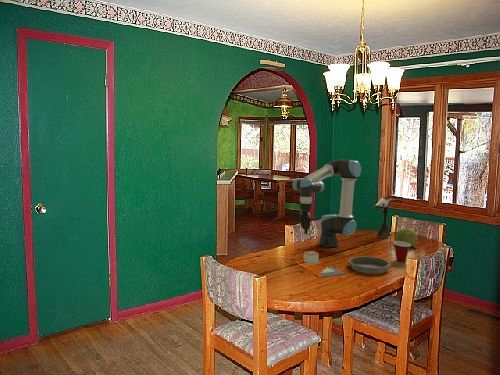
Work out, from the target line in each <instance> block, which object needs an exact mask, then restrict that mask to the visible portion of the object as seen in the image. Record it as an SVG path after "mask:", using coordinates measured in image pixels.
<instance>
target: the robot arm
mask: <svg viewBox="0 0 500 375" xmlns="http://www.w3.org/2000/svg"><path fill="white" fill-rule="evenodd" d="M361 174H362V166H361V164H360V163H359V161H358V160H353V159H335V160H331V161H330V162H327V163H326V164H324V165H323V167H321V168H320V169H318V170H315V171H314V172H311V173H310V174H308V175H306V176H304V177H302V178H300V179H299V178H298V179H294V180H293V181H292V185H291V186H292V188H293V190H294V191H300V192H299V194H300V195H299V202H300V203H299V209H301V210H300V211H299V219H300V220H299V223H300V227H301V229H302V239H304V240H306V239H308V230H309V229H311V228H310V227H311V221H312V217H313V215H312V214H311V212H310V210H311V209H312V202H313V199H312V198H313V194H314V193H315V194H316V193H321V192H324V189H325V184H324V182H323V180H324V179H326V178H329V177H333V176H340V180H342V181H341V191H340V192H341V194H340V204H339V206H340V207H339V213H338V214H325V215H321V219H320V236H319V239H318V244H319V245H321V246H324V247H323V248H327V247H334V248H337V247H338V248H339V245H340V242H339V238H338V234H339V235H343V236H347V237H348V236H352V235H353V234H354V233H355V232H356V229H357V222H356V220H354V215H353V202H354V192H355V191H354V190H355V182H356V181H357V180H358V177H360V176H361ZM318 244H317V245H318ZM319 245H318V246H319ZM321 246H320V247H321Z"/></svg>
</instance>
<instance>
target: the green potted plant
mask: <svg viewBox="0 0 500 375" xmlns="http://www.w3.org/2000/svg"><path fill="white" fill-rule="evenodd" d="M395 241H401V242H406V243H409V244H411V246H410V247H409V248H412V247H414V246H415V245H416V244H417V243H418V235H417V233H416V232H415V230H413V229H411V228H409V227H407V228H406V227H405V228H400V229H398V231H396V233H395V235H394V242H395Z"/></svg>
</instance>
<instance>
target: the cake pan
mask: <svg viewBox="0 0 500 375" xmlns="http://www.w3.org/2000/svg"><path fill="white" fill-rule="evenodd" d="M348 263H349V264H350V268H351V269H352V270H353V271H355V272H358V273H362V274H367V275H368V274H371V275H377V274H383V273H385V272H387V270H388V268H389V266H390V262H389V261H388V260H386V259H384V258H380V257H375V256H366V255H365V256H353V257H351V258H349V259H348Z"/></svg>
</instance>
